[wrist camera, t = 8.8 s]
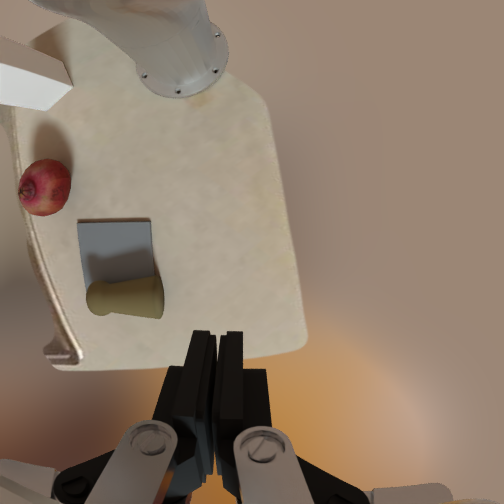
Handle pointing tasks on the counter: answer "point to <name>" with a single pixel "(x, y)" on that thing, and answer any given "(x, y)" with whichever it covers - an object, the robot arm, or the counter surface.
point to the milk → (30, 77)
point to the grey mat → (115, 251)
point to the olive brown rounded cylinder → (127, 297)
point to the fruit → (44, 187)
